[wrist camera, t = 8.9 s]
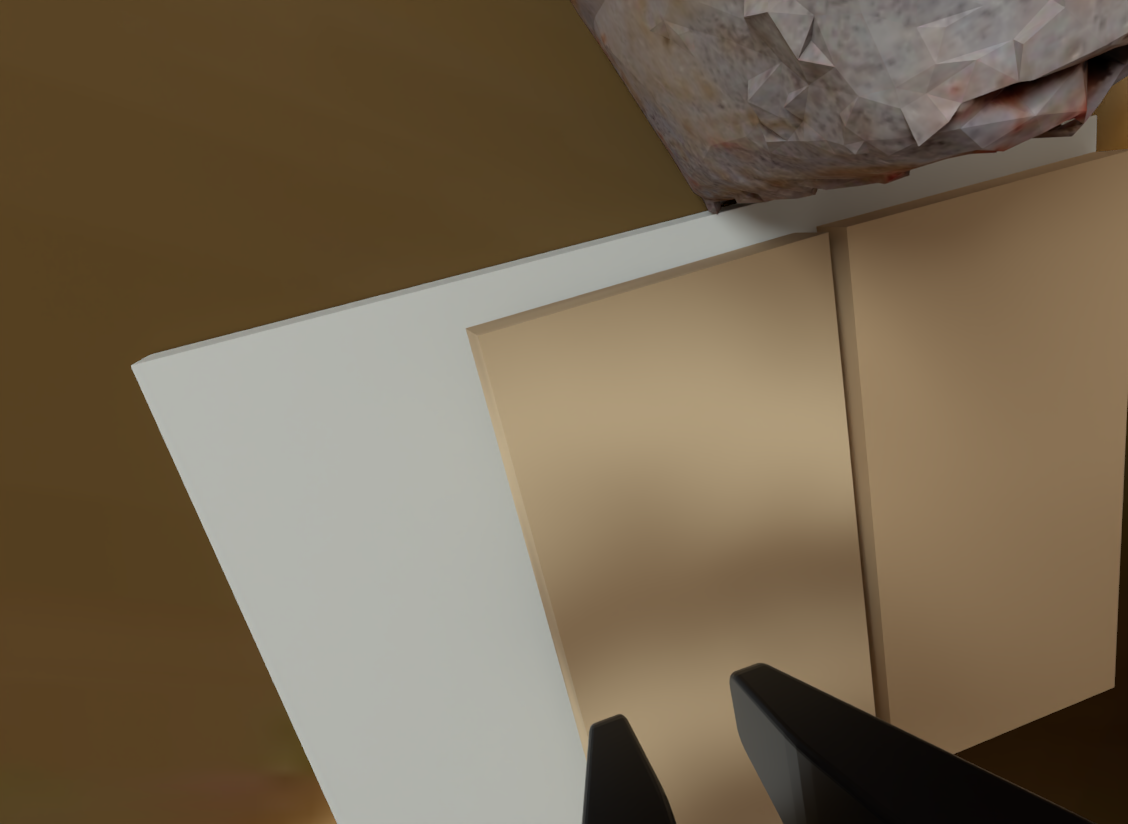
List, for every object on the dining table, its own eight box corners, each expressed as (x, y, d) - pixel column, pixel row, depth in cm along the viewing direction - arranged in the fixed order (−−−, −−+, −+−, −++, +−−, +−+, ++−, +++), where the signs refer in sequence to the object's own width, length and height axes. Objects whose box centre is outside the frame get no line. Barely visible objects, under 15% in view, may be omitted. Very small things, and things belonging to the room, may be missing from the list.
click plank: (854, 756, 18) (882, 784, 17) (620, 883, 16) (638, 921, 16) (794, 232, 14) (828, 231, 13) (465, 328, 12) (477, 336, 11)
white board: (1050, 662, 21) (1116, 707, 19) (400, 924, 18) (401, 1009, 16) (1055, 121, 16) (1144, 108, 14) (150, 354, 13) (107, 378, 11)
